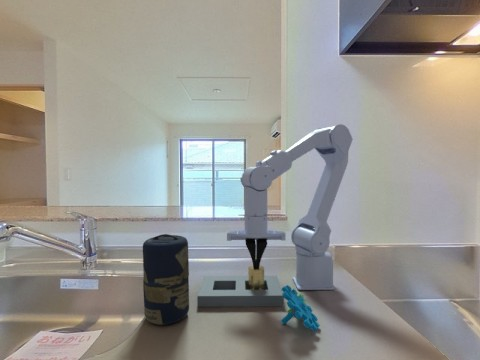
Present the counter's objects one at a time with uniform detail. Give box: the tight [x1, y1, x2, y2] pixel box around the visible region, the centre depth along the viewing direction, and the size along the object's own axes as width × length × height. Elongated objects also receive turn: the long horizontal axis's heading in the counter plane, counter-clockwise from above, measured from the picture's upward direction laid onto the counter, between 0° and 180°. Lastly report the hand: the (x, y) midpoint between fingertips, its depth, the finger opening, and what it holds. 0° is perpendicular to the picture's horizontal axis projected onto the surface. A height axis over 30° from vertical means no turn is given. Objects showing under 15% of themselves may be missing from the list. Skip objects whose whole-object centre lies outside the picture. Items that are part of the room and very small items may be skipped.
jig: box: [196, 275, 285, 308], centre depth 71 cm, size 20×12×2 cm, turn 90°
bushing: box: [247, 264, 265, 290], centre depth 71 cm, size 4×4×7 cm
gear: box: [281, 284, 321, 332], centre depth 58 cm, size 11×6×10 cm
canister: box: [142, 233, 190, 326], centre depth 60 cm, size 10×10×18 cm
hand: (256, 268), depth 71 cm, fingers closed, pressing on bushing
